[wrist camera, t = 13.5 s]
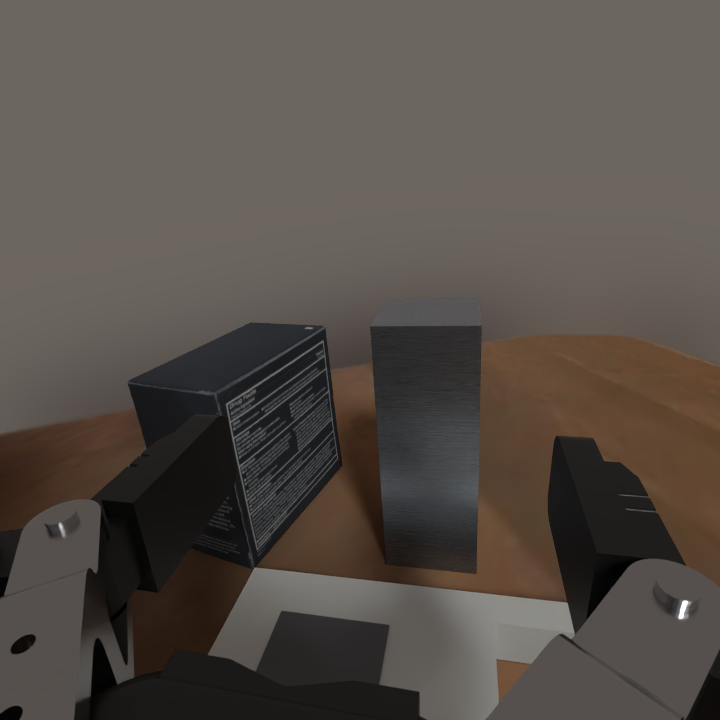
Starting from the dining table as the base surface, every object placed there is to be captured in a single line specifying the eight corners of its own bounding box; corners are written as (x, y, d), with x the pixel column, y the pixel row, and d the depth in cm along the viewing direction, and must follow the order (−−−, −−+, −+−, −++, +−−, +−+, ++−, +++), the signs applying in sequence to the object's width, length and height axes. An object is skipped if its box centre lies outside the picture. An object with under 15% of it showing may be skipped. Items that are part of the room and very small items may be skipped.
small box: (270, 449, 37) (249, 318, 33) (345, 465, 34) (332, 323, 30) (164, 541, 28) (119, 376, 24) (254, 572, 25) (219, 391, 21)
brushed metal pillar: (386, 563, 25) (370, 326, 20) (398, 507, 29) (387, 299, 24) (476, 574, 24) (481, 325, 19) (475, 513, 28) (479, 297, 23)
